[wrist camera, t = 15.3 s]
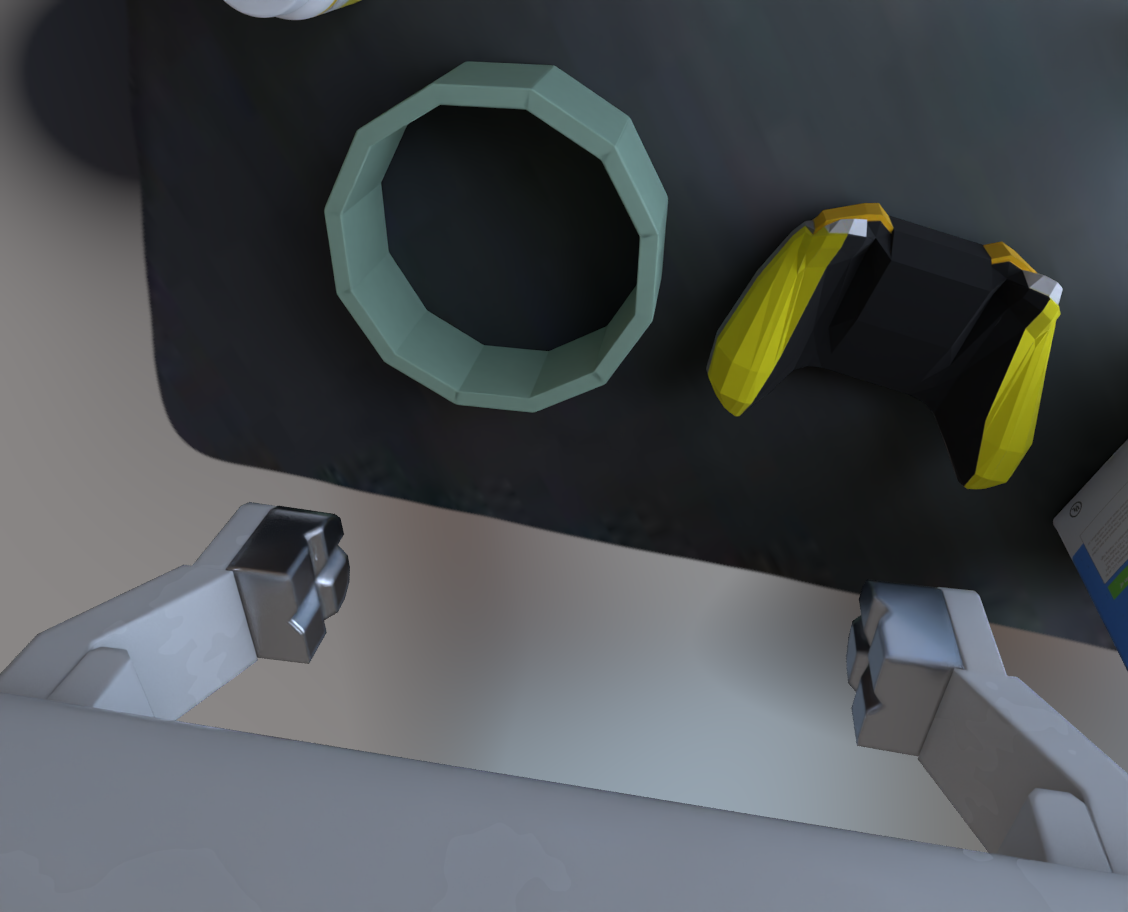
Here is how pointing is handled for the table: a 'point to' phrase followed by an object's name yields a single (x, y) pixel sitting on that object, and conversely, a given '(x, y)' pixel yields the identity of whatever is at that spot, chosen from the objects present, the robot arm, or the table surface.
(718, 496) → the table surface
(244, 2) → the supplement bottle
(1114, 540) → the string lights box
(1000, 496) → the table surface
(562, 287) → the table surface
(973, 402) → the gaming controller
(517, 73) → the ring
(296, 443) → the table surface
